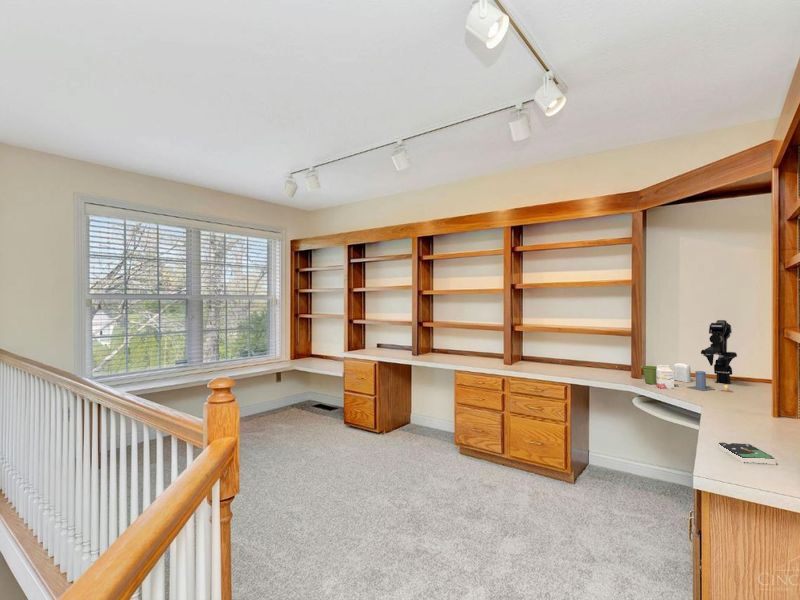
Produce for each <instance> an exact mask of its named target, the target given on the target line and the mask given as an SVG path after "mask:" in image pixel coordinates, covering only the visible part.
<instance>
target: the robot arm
mask: <svg viewBox="0 0 800 600" xmlns="http://www.w3.org/2000/svg"><path fill="white" fill-rule="evenodd" d="M732 332H733V330H732V325H731V324H730V323H728V322H727V320H725V319H717V320H716V322H711V323H710V324H709V329H708V334H711V335H710V336H709V342H710V345H709V346H708V347H707V348H705V349H702V350H701V351H700V354H701V355H702V356H703V357H705V358H706V360H708V363H709V365H710V366H711V367H712V366H713V371H714V373H713V374H715V375H716V381H715V383H716V382H717V383H716V384H722V385H724V384H727V385H730V384H732V382H731V376H730V375H733V368H732V366H731V365H730V364H731V362H732V360H733V359H735V358H737V357H738V354H737V353H736V352H735V351H728V339H729V338H730V337H731V334H733V333H732ZM715 355H718V358H717V359H715V361H714V357H715Z"/></svg>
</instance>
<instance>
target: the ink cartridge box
mask: <svg viewBox="0 0 800 600" xmlns="http://www.w3.org/2000/svg"><path fill="white" fill-rule="evenodd" d="M656 366H657V369H656V380H657V384H656V388H658V389H664V390H665V389H667V390H669V389H670V390H673V389H675V380H674V369H673V370H672V369H671V364H656Z"/></svg>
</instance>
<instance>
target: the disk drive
mask: <svg viewBox="0 0 800 600" xmlns="http://www.w3.org/2000/svg"><path fill="white" fill-rule="evenodd" d="M719 444H720V445H721V446H723V447H724V448H726V449H728V450H729V451H731V452H732V453H734V454H736V455H738V456H740V457H742V458H765V459H775V457H773V456H772V455H770V454H768V453H766V452H765V451H763V450H761V449H760V448H757V447H755V446H754V445H752V444H750V443H736V442H735V443H734V442H732V443H726V442H718V445H719ZM775 460H776V459H775Z"/></svg>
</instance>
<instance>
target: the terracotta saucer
mask: <svg viewBox="0 0 800 600" xmlns="http://www.w3.org/2000/svg"><path fill="white" fill-rule="evenodd" d="M729 385H730V384H723V387H724V389H721V390H718V392H720V393H727V394H728V393H729V394H733V393H735V391H733V390H729V389H730V388H729V387H730V386H729Z"/></svg>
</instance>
